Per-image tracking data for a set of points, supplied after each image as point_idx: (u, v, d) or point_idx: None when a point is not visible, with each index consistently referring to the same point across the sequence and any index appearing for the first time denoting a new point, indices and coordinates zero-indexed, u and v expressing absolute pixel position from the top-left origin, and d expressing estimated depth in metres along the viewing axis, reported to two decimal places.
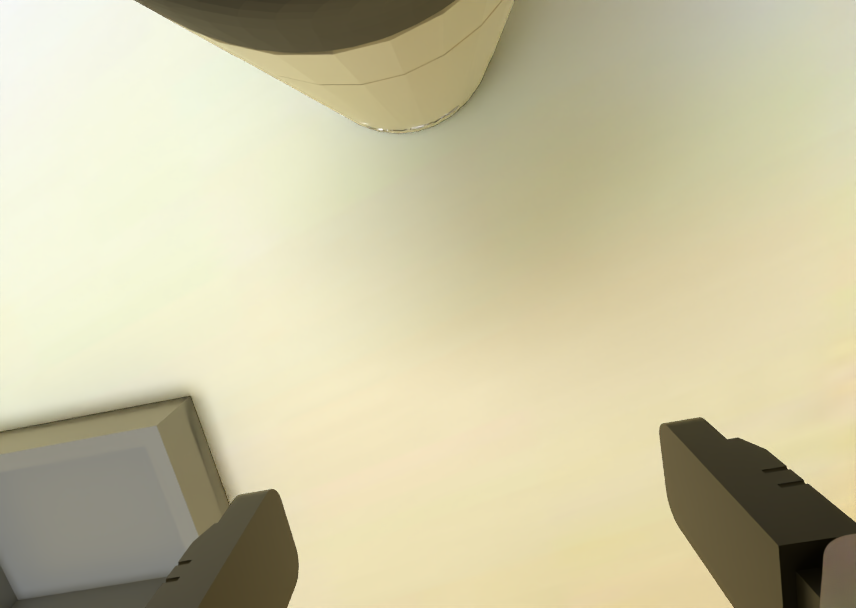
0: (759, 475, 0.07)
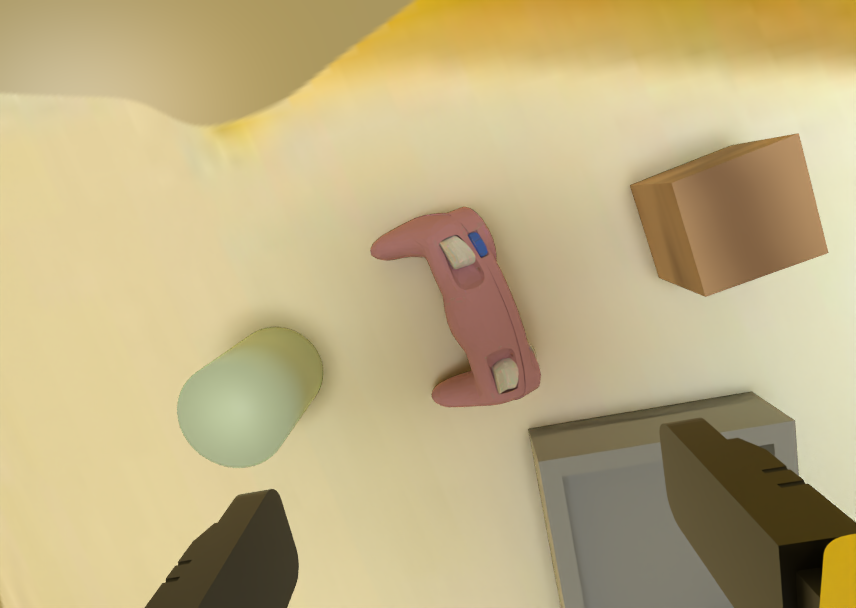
0: (759, 475, 0.07)
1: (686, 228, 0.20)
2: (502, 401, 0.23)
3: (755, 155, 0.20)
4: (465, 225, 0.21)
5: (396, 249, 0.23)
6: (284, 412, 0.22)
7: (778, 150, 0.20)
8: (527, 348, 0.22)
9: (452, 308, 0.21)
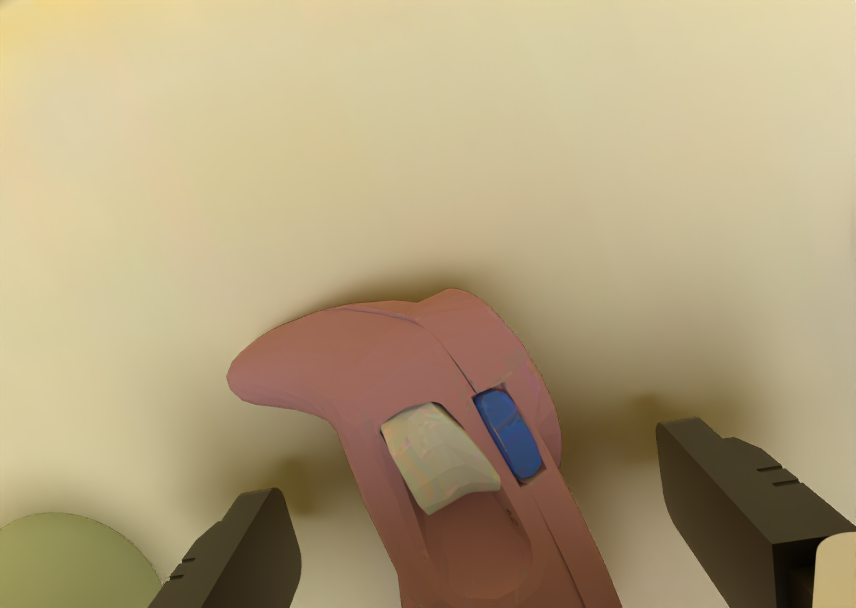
0: (754, 474, 0.08)
1: None
2: None
3: None
4: (466, 366, 0.06)
5: (274, 398, 0.08)
6: None
7: None
8: None
9: None
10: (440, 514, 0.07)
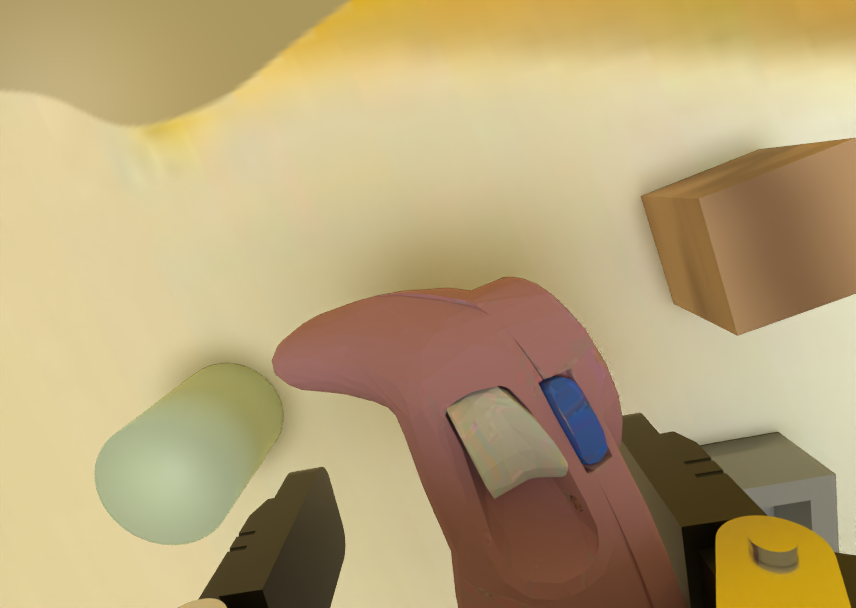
0: (679, 465, 0.08)
1: (716, 253, 0.17)
2: None
3: (801, 164, 0.16)
4: (533, 351, 0.06)
5: (326, 382, 0.08)
6: (227, 479, 0.18)
7: (830, 158, 0.16)
8: None
9: None
10: (501, 499, 0.07)
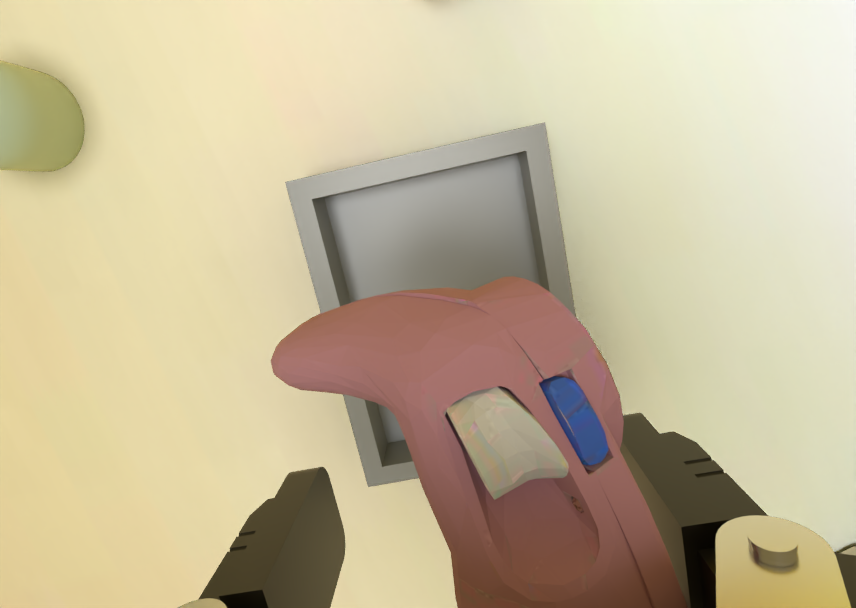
0: (679, 465, 0.08)
1: None
2: None
3: None
4: (533, 352, 0.06)
5: (325, 382, 0.08)
6: None
7: None
8: None
9: None
10: (501, 500, 0.07)
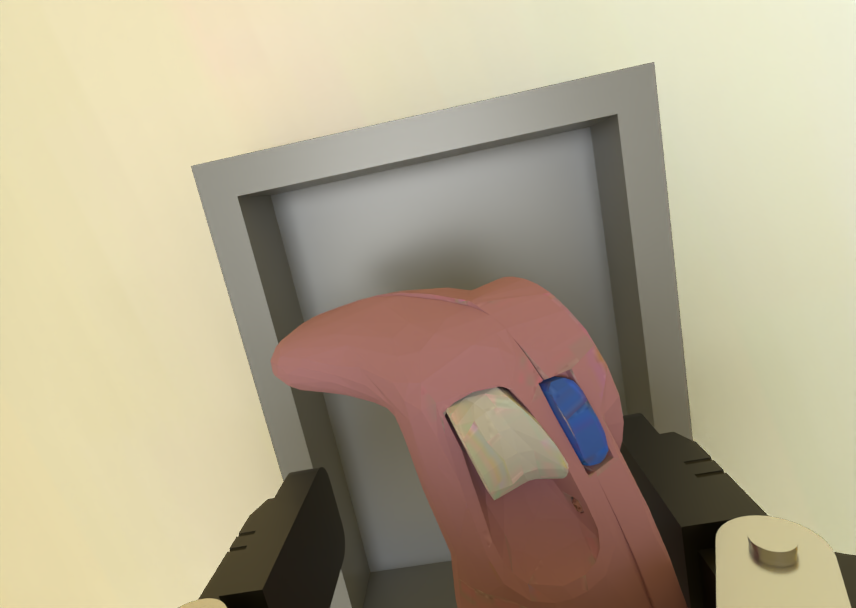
0: (679, 465, 0.08)
1: None
2: None
3: None
4: (533, 352, 0.06)
5: (325, 383, 0.08)
6: None
7: None
8: None
9: None
10: (501, 500, 0.07)
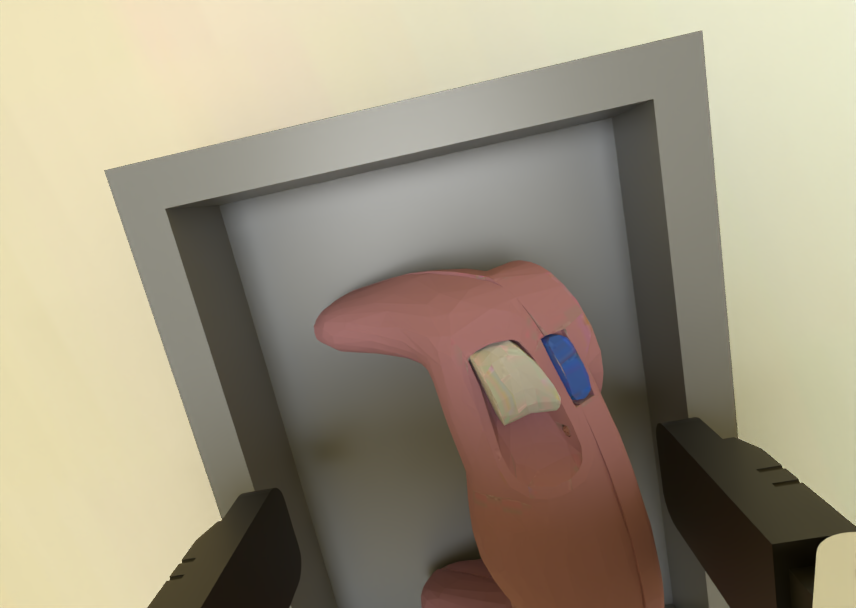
0: (754, 474, 0.08)
1: None
2: None
3: None
4: (536, 315, 0.08)
5: (366, 342, 0.10)
6: None
7: None
8: None
9: (491, 521, 0.09)
10: (509, 428, 0.09)
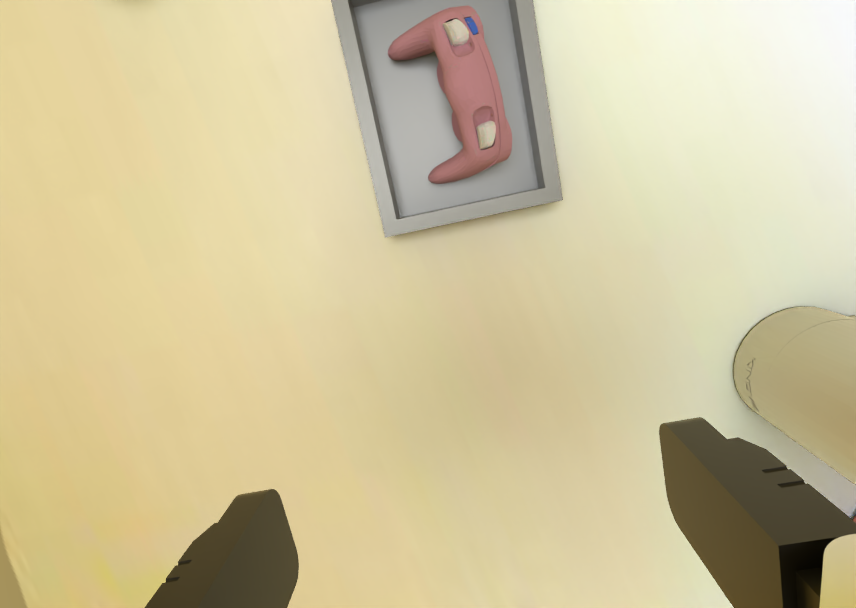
0: (759, 475, 0.07)
1: None
2: (482, 159, 0.31)
3: None
4: (462, 12, 0.29)
5: (409, 40, 0.31)
6: None
7: None
8: (503, 110, 0.29)
9: (449, 73, 0.29)
10: (455, 47, 0.29)
